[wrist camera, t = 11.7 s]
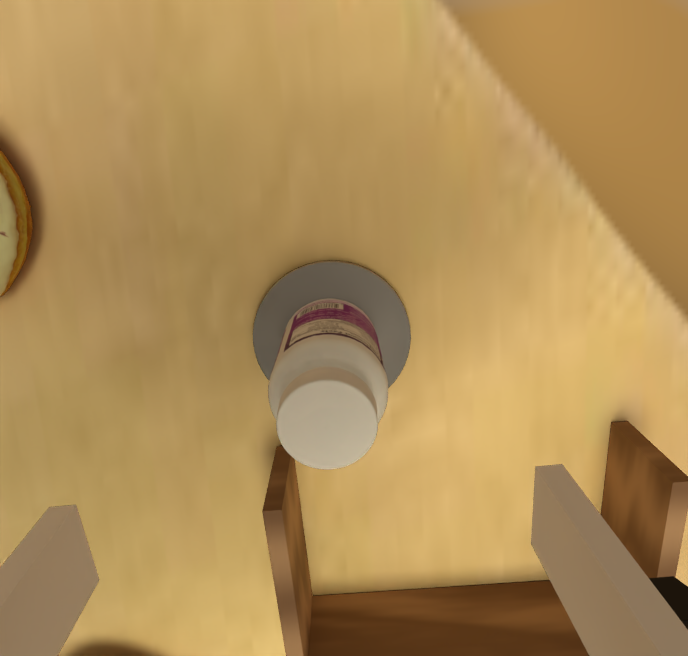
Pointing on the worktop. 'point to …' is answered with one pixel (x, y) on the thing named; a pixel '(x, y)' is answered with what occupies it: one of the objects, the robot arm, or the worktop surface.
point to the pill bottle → (328, 385)
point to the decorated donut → (12, 224)
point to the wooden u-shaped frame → (477, 600)
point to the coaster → (337, 284)
